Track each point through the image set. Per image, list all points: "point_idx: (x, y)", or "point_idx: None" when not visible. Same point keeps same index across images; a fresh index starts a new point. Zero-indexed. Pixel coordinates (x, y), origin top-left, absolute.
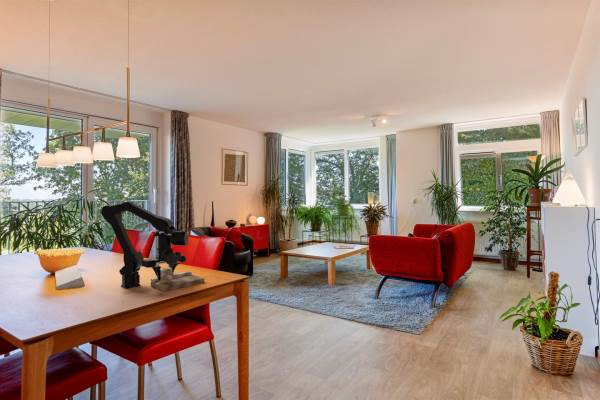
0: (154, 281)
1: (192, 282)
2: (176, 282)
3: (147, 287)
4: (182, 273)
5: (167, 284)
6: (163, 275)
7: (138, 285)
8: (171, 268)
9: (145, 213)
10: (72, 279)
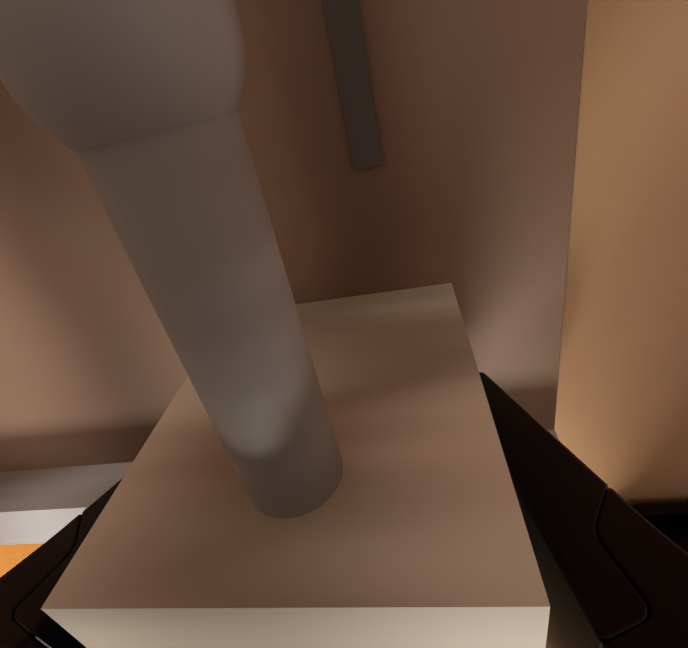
0: None
1: None
2: None
3: (593, 398)
4: (17, 509)
5: (389, 83)
6: (425, 403)
7: (644, 509)
8: (70, 604)
9: None
10: None
